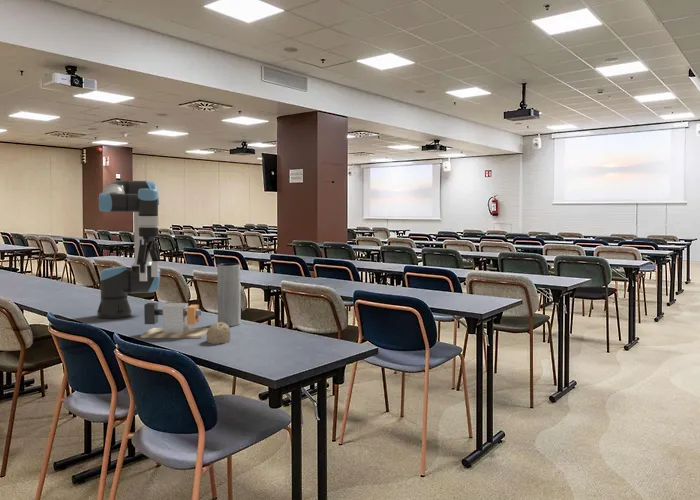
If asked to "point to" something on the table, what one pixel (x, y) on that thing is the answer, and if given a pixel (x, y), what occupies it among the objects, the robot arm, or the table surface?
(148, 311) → the shaft
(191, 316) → the block
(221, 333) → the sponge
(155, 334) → the board
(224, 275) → the vase
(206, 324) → the table surface
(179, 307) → the grey upright block
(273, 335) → the table surface
